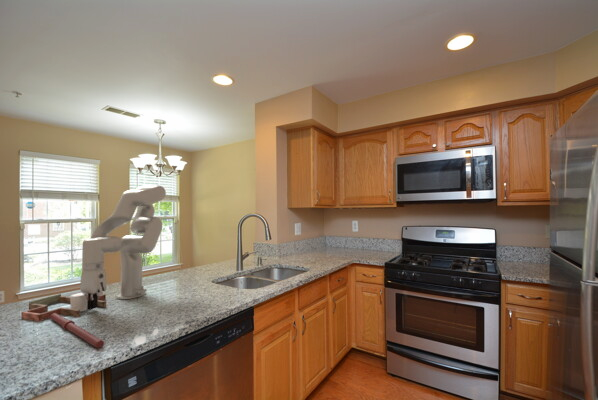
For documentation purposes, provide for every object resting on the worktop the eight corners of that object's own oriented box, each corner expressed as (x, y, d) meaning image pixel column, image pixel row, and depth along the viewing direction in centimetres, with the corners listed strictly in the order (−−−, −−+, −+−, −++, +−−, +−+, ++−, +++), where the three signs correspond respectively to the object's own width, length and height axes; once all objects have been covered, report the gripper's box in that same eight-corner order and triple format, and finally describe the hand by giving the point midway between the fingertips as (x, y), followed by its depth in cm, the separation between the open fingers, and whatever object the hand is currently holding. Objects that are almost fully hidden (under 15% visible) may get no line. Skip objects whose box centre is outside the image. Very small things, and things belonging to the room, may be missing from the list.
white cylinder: (93, 307, 122) (93, 291, 122) (79, 312, 115) (79, 296, 115) (79, 306, 122) (80, 291, 123) (65, 312, 115) (65, 296, 116)
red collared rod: (48, 321, 107) (48, 313, 107) (58, 318, 110) (58, 310, 110) (94, 351, 83) (94, 341, 83) (105, 347, 85) (105, 337, 86)
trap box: (121, 301, 129) (121, 294, 129) (56, 324, 103) (56, 315, 103) (76, 296, 138) (76, 289, 138) (6, 315, 113) (6, 307, 113)
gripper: (113, 265, 118) (113, 307, 118) (89, 264, 123) (89, 304, 122) (96, 269, 111) (96, 313, 111) (71, 267, 116) (70, 310, 115)
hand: (92, 308), depth 116 cm, fingers closed
